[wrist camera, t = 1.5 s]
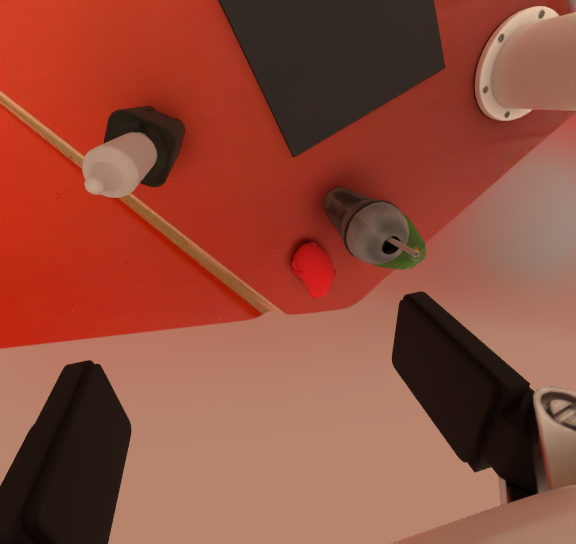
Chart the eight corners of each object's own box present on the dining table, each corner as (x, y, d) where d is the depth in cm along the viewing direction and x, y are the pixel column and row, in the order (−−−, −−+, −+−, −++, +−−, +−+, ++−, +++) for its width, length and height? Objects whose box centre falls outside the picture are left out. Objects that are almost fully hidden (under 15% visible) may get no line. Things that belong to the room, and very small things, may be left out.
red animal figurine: (280, 249, 47) (289, 267, 42) (315, 231, 47) (328, 247, 42) (299, 287, 51) (310, 308, 46) (332, 271, 51) (346, 290, 46)
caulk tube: (130, 147, 36) (22, 217, 15) (141, 102, 34) (35, 108, 13) (175, 165, 38) (136, 249, 17) (187, 123, 36) (161, 158, 15)
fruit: (336, 218, 47) (373, 252, 36) (382, 190, 46) (433, 216, 36) (355, 257, 51) (393, 297, 41) (398, 232, 50) (447, 266, 40)
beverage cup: (318, 232, 47) (381, 308, 30) (310, 185, 43) (377, 241, 26) (363, 218, 48) (450, 286, 31) (359, 171, 44) (455, 218, 27)
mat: (397, -191, 28) (400, -197, 28) (442, 68, 40) (445, 67, 39) (191, -58, 29) (190, -61, 29) (293, 156, 41) (294, 157, 40)
